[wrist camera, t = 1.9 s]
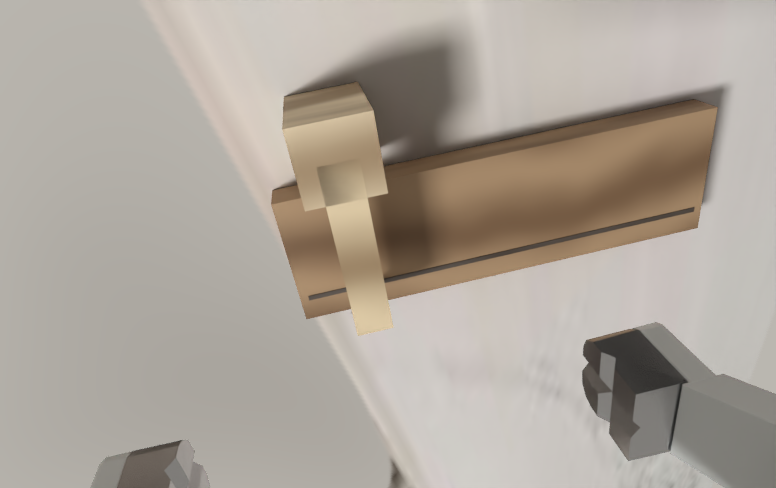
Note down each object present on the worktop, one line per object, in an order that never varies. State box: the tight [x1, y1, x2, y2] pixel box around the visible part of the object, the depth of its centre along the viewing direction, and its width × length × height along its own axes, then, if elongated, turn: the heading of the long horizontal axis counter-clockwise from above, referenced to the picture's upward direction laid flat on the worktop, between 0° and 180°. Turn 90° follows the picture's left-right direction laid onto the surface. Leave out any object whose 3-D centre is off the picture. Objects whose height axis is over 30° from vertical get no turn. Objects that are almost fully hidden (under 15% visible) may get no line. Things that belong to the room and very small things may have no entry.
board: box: [271, 99, 718, 319], centre depth 31 cm, size 8×26×2 cm, turn 99°
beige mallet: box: [282, 82, 393, 336], centre depth 27 cm, size 12×4×6 cm, turn 9°
